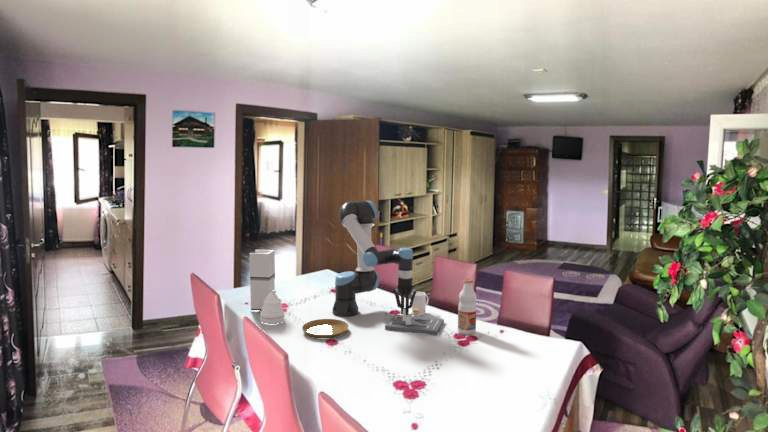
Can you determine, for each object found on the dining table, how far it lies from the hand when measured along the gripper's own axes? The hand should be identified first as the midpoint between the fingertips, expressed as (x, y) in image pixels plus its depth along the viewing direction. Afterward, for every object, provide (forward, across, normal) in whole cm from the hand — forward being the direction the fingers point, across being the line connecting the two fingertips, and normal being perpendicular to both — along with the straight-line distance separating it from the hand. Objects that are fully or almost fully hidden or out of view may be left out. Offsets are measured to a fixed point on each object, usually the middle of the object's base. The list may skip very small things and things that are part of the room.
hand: (404, 320), depth 281 cm
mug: (+5, +2, +28) cm, 28 cm away
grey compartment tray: (+4, +4, +5) cm, 8 cm away
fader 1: (+2, +2, 0) cm, 3 cm away
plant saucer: (+5, -38, -18) cm, 42 cm away
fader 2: (+2, +4, +10) cm, 11 cm away
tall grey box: (+5, -88, +5) cm, 88 cm away
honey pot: (+5, -72, -12) cm, 74 cm away
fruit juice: (+5, +32, +5) cm, 33 cm away
